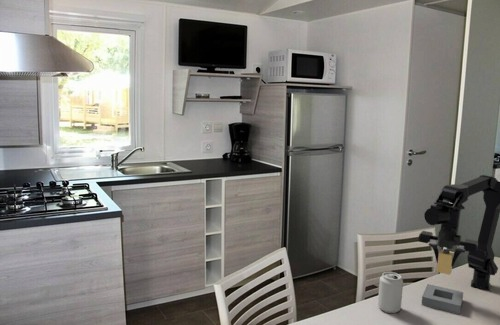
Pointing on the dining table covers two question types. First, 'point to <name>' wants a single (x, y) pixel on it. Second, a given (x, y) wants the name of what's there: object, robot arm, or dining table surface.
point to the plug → (445, 261)
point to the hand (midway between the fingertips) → (444, 264)
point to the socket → (442, 298)
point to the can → (390, 292)
